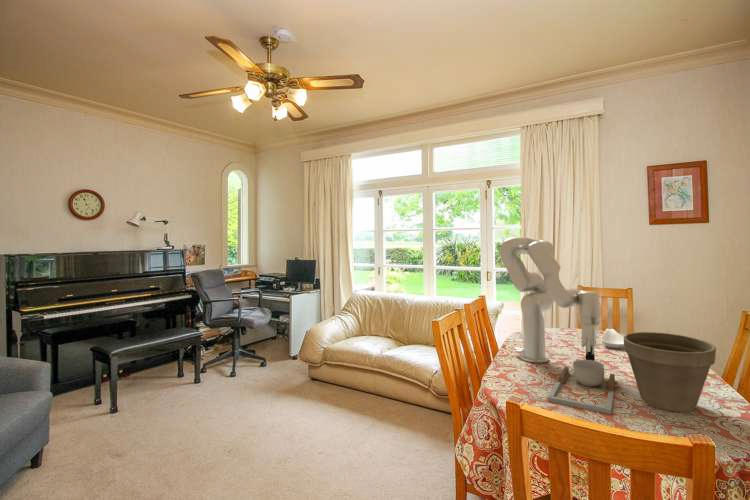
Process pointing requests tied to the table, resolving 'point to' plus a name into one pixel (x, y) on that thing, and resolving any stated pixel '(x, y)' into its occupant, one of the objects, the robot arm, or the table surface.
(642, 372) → the plant pot
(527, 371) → the table surface
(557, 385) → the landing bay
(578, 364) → the teacup
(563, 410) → the table surface
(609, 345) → the white sneaker
